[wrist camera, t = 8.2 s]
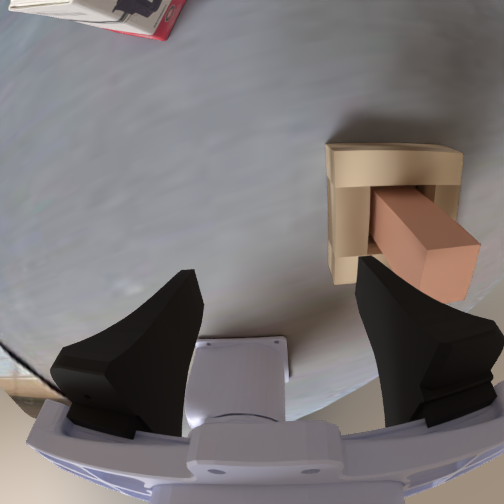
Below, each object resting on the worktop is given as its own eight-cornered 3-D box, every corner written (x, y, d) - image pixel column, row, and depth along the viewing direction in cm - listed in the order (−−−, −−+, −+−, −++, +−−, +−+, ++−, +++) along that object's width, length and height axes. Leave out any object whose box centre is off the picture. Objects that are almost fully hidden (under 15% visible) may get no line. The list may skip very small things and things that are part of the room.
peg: (366, 227, 22) (414, 308, 14) (367, 184, 20) (427, 250, 12) (405, 224, 22) (464, 299, 13) (408, 183, 20) (480, 244, 11)
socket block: (328, 263, 24) (334, 285, 21) (325, 143, 19) (333, 151, 17) (430, 254, 23) (445, 272, 20) (443, 145, 18) (463, 153, 15)
